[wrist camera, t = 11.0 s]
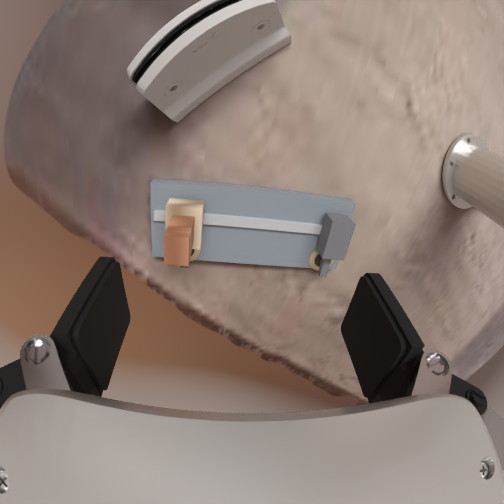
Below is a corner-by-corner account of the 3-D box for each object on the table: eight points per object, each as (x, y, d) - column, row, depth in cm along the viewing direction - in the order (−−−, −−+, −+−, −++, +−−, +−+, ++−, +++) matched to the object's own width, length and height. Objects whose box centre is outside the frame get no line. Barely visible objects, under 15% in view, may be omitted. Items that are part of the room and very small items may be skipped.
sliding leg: (204, 198, 31) (198, 229, 24) (201, 261, 35) (195, 302, 29) (170, 196, 31) (154, 226, 24) (170, 259, 35) (159, 299, 28)
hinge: (175, 125, 28) (128, 107, 18) (154, 98, 27) (106, 75, 18) (293, 41, 24) (293, -9, 14) (267, 17, 23) (258, -33, 14)
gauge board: (350, 199, 34) (366, 213, 30) (331, 265, 40) (341, 284, 36) (153, 179, 31) (143, 191, 27) (155, 252, 36) (147, 272, 32)
